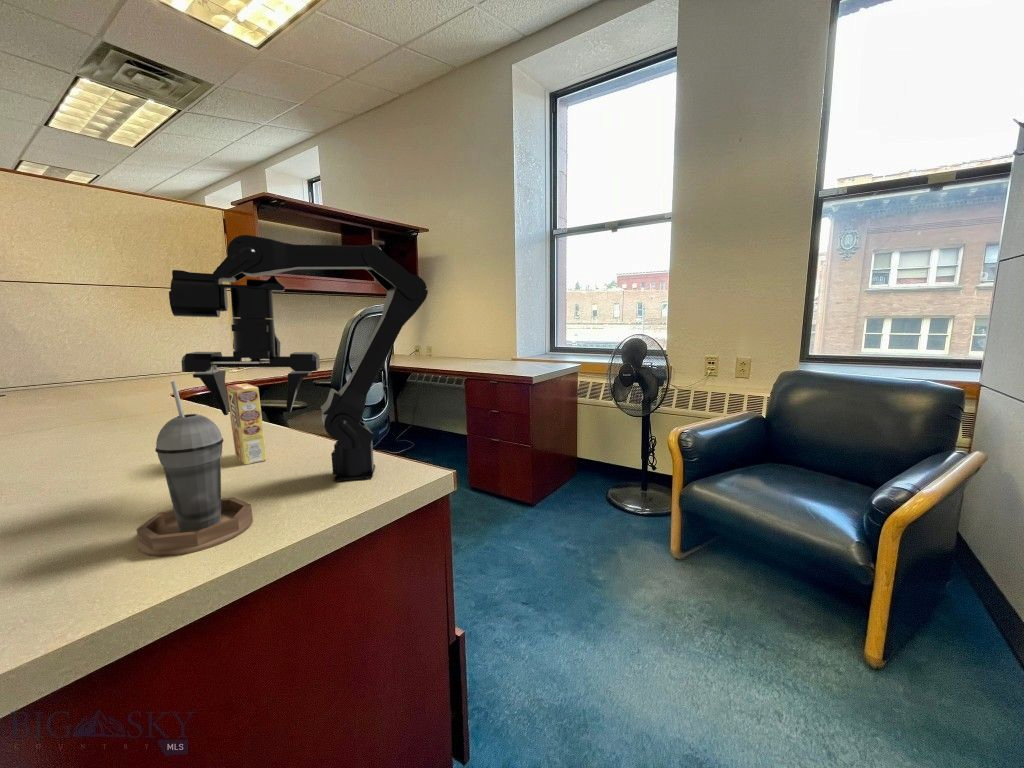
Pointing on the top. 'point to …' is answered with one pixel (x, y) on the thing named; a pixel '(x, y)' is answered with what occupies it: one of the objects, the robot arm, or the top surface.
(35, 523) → the top surface
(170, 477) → the beverage cup
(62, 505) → the top surface
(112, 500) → the top surface
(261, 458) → the candy box
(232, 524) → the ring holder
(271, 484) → the top surface
